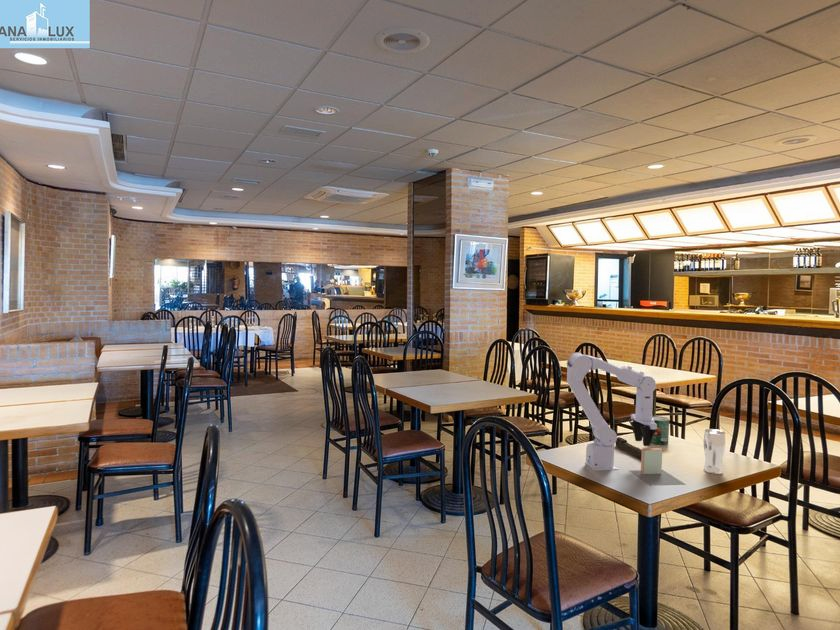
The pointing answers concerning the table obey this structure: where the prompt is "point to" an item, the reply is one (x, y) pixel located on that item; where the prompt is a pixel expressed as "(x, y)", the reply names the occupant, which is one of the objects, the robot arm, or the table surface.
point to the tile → (651, 461)
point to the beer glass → (714, 450)
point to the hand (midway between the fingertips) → (642, 443)
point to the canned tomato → (661, 431)
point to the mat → (658, 478)
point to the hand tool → (628, 447)
